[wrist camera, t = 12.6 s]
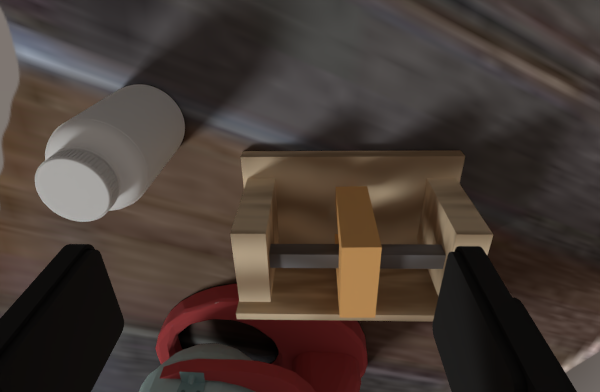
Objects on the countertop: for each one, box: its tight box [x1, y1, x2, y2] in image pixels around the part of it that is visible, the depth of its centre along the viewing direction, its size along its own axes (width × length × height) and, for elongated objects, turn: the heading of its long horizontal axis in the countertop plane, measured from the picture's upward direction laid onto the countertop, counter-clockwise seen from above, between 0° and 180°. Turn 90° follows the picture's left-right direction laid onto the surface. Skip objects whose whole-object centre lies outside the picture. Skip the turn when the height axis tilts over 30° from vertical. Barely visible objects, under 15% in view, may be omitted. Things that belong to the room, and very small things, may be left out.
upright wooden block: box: [335, 186, 382, 318], centre depth 38 cm, size 8×3×10 cm, turn 2°
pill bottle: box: [35, 84, 185, 222], centre depth 34 cm, size 8×8×15 cm
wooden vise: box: [230, 150, 493, 321], centre depth 40 cm, size 13×23×12 cm, turn 91°
